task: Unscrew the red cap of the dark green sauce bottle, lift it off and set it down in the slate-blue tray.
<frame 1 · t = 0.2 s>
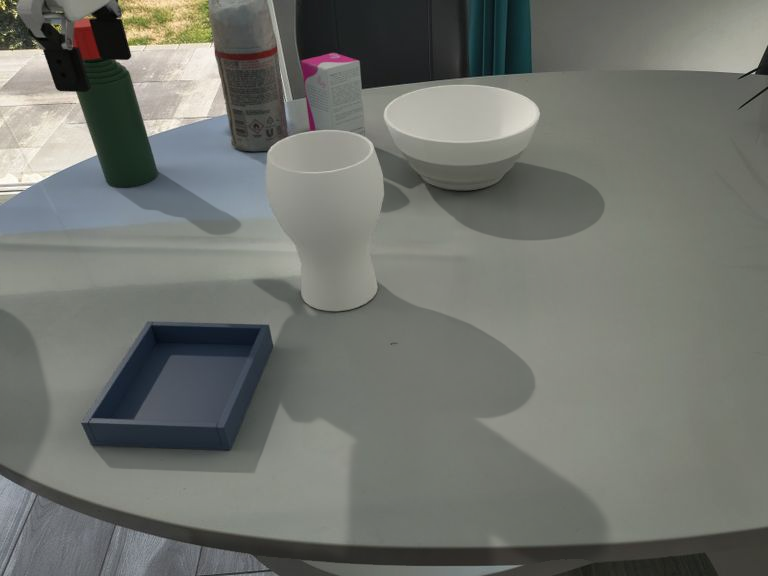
hand: (96, 73, 74), 17 cm above the table, tool pointing down, fingers open, 9 cm apart
sauce bottle: (132, 176, 96), on the table
supplement box: (339, 144, 104), on the table
spray can: (262, 143, 104), on the table
tray: (189, 391, 63), on the table
cap: (85, 26, 84), point 19 cm above the table, screwed on, not yet turned
bowl: (462, 174, 96), on the table
cup: (340, 291, 75), on the table
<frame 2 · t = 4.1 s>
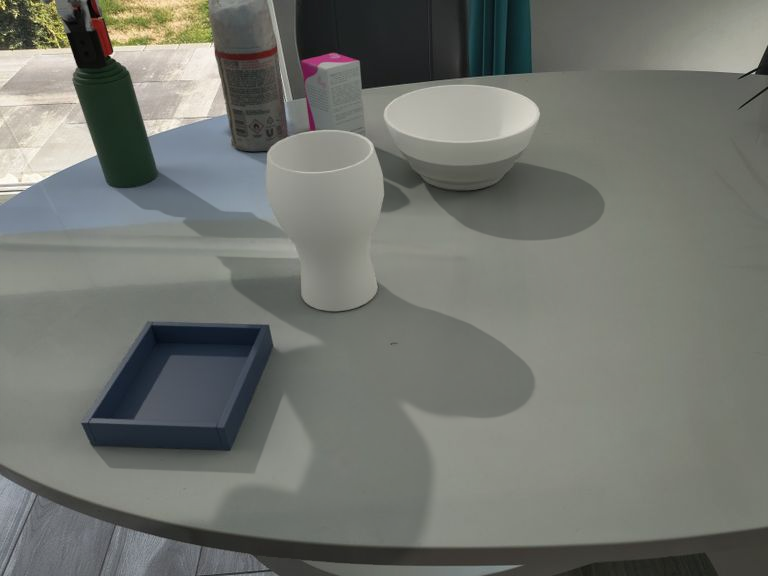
hand: (95, 59, 86), 15 cm above the table, tool pointing down, fingers closed on cap, 3 cm apart
cap: (85, 26, 84), point 19 cm above the table, screwed on, not yet turned, touching gripper
everything else where it was.
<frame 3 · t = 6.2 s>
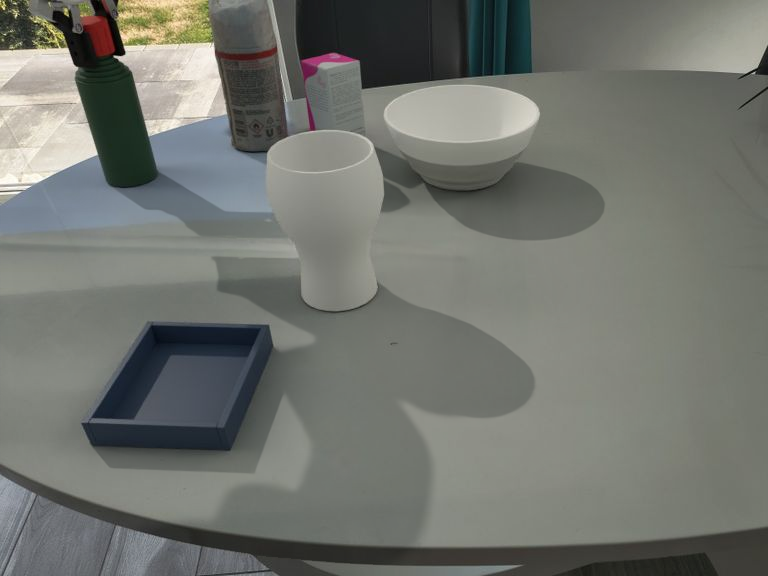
hand: (100, 59, 86), 15 cm above the table, tool pointing down, fingers closed on cap, 3 cm apart
cap: (89, 23, 84), point 19 cm above the table, turned 150° so far, risen 0.1 cm, still on its thread, touching gripper
everything else where it was.
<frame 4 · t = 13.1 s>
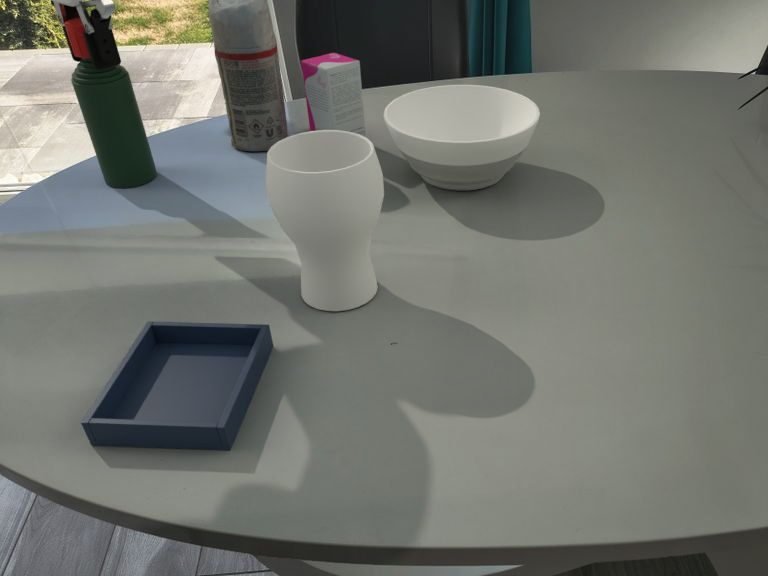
hand: (97, 60, 86), 15 cm above the table, tool pointing down, fingers closed on cap, sauce bottle, 3 cm apart
sauce bottle: (131, 177, 95), on the table, touching gripper
cap: (84, 25, 84), point 19 cm above the table, turned 156° so far, risen 0.2 cm, still on its thread, touching gripper
everything else where it was.
when the fingers open (15 cm above the table, at t = 14.3 s): cap stays where it is, point 19 cm above the table; sauce bottle stays where it is, on the table.
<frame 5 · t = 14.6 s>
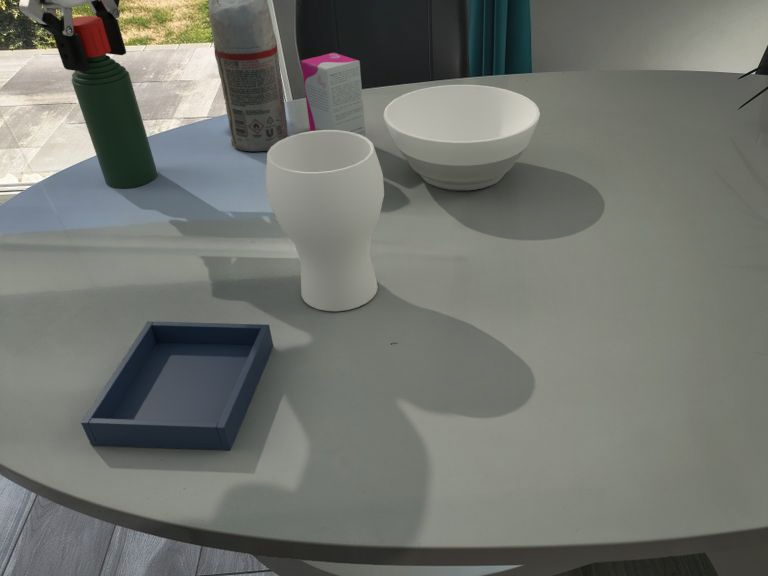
hand: (96, 60, 86), 15 cm above the table, tool pointing down, fingers open, 5 cm apart
sauce bottle: (131, 177, 95), on the table
cap: (84, 24, 84), point 19 cm above the table, turned 265° so far, risen 0.3 cm, still on its thread
everything else where it was.
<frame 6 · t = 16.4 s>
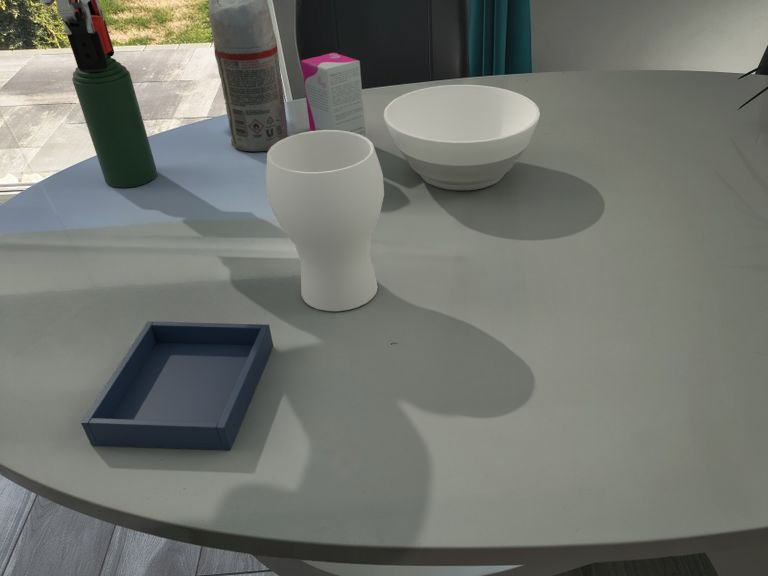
hand: (97, 60, 86), 15 cm above the table, tool pointing down, fingers closed on cap, 4 cm apart
sauce bottle: (131, 177, 95), on the table, touching gripper
cap: (85, 23, 84), point 19 cm above the table, turned 265° so far, risen 0.3 cm, still on its thread, touching gripper
everything else where it was.
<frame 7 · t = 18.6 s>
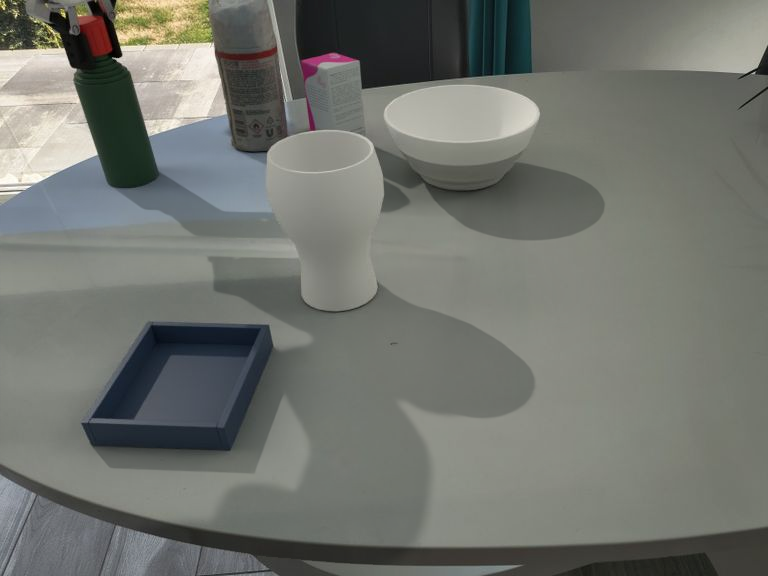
hand: (97, 60, 86), 15 cm above the table, tool pointing down, fingers closed on cap, 3 cm apart
cap: (85, 23, 84), point 19 cm above the table, off its thread, touching gripper
everything else where it was.
when the fingers open (2 cm above the table, at t = 29.7 s): cap drops 3 cm, resting on tray.
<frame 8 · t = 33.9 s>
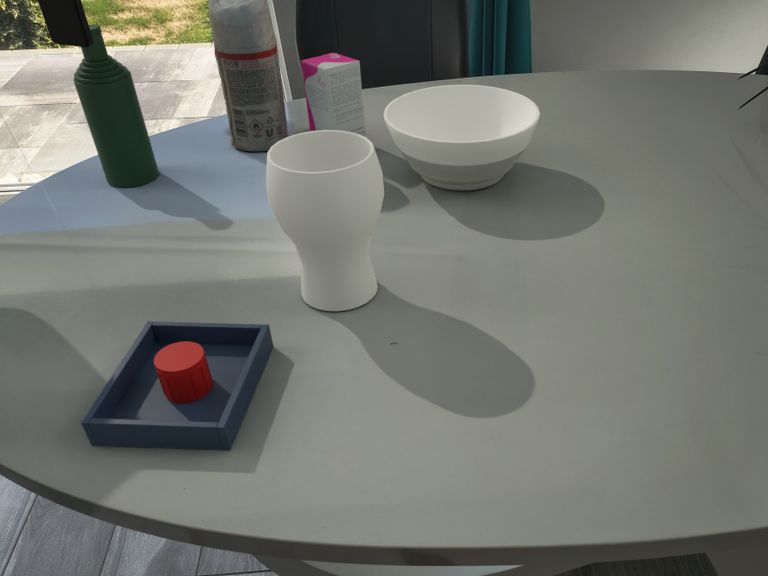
hand: (22, 65, 49), 26 cm above the table, tool pointing down, fingers open, 9 cm apart
sauce bottle: (133, 176, 95), on the table
cap: (180, 359, 60), point 4 cm above the table, off its thread, touching tray
everything else where it was.
at the end: cap came off its thread; cap inside the target area on the tray (0.1 cm from its centre), point 3.6 cm above the tray's base; the gripper is holding nothing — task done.
